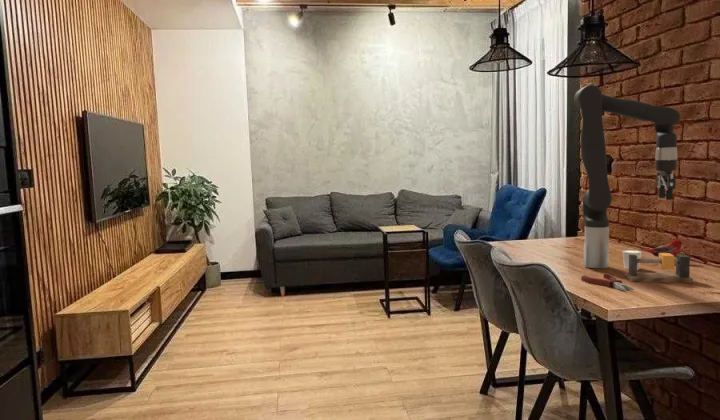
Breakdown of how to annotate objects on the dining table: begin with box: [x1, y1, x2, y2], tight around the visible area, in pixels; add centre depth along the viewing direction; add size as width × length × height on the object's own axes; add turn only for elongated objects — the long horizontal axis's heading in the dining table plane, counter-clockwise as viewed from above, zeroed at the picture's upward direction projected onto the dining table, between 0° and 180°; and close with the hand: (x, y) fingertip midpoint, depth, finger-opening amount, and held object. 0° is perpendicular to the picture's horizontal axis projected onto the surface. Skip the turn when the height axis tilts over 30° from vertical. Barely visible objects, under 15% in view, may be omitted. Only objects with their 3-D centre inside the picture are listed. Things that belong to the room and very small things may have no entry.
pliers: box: [580, 273, 635, 292], centre depth 176 cm, size 12×20×3 cm, turn 9°
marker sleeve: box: [657, 253, 675, 270], centre depth 180 cm, size 4×5×5 cm
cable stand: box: [625, 254, 694, 284], centre depth 181 cm, size 20×8×9 cm, turn 75°
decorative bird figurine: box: [639, 238, 685, 258], centre depth 208 cm, size 3×18×10 cm, turn 83°
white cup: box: [622, 249, 642, 270], centre depth 200 cm, size 7×7×7 cm
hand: (665, 198), depth 198 cm, fingers open, 8 cm apart
